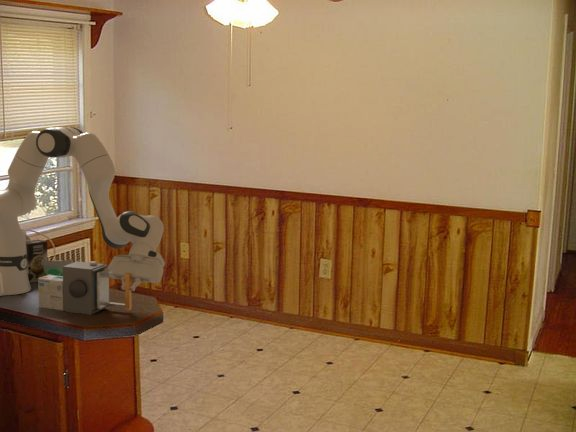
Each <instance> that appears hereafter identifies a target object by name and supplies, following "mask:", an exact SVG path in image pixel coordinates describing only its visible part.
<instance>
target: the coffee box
mask: <svg viewBox="0 0 576 432" xmlns="http://www.w3.org/2000/svg"><path fill="white" fill-rule="evenodd" d="M26 253H27V274H28V279H29V283H30V284H32V283H38V278H40V277H44V269H43V265H41V262H42V259H43V260H45V261H48V241H47V240H42V239H41V240H40V239H34V240H32V239H31V241H26Z"/></svg>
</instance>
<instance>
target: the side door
mask: <svg viewBox="0 0 576 432" xmlns="http://www.w3.org/2000/svg"><path fill="white" fill-rule="evenodd" d="M132 281H133V280H132V273H125V290H124V291H125V292H124V303H122V302H121V303H120V302H114V301H113V302H111V301H110V277H109V269H108V267H107V268H105V269H103V270H101V271H98V272H97V309H101V308H103V307H105V306H108V307H113V308H121V309H124V310H125V311H131V310H133V309H132V307H133V305H132V301H133V299H132V296H133V294H132V292H133V291H130V289H129V287H130V284H133V282H132Z"/></svg>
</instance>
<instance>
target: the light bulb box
mask: <svg viewBox="0 0 576 432" xmlns="http://www.w3.org/2000/svg"><path fill="white" fill-rule="evenodd" d="M37 284H38V285H37V286H38V287H37V288H38V289H37V291H38V307H39V308H43V309H50V310H56V311H63V276H55V275H47V276H44V277H40V278H38V282H37ZM63 312H64V311H63Z"/></svg>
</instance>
